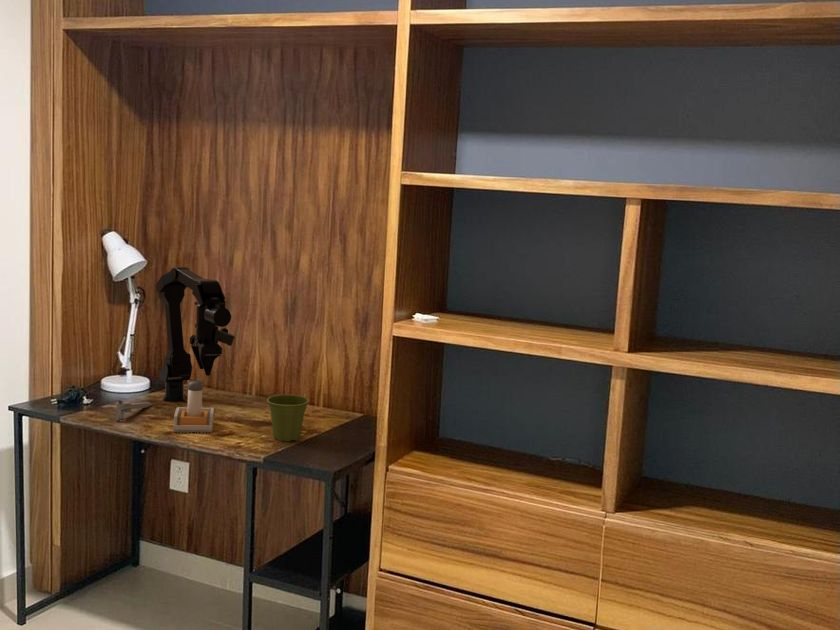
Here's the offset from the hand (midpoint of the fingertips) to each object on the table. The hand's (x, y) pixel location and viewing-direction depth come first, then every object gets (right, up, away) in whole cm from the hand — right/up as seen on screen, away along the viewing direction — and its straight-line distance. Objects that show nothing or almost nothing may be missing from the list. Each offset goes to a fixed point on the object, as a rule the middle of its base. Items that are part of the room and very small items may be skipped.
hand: (204, 372), depth 259 cm
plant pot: (+28, -18, -17) cm, 37 cm away
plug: (0, -14, -13) cm, 19 cm away
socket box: (0, -15, -13) cm, 20 cm away
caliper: (-21, -13, -2) cm, 24 cm away
